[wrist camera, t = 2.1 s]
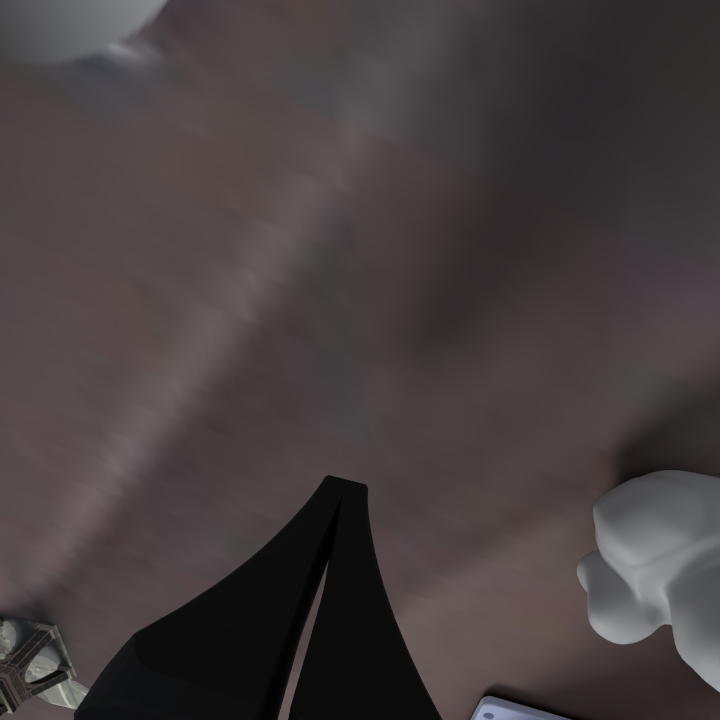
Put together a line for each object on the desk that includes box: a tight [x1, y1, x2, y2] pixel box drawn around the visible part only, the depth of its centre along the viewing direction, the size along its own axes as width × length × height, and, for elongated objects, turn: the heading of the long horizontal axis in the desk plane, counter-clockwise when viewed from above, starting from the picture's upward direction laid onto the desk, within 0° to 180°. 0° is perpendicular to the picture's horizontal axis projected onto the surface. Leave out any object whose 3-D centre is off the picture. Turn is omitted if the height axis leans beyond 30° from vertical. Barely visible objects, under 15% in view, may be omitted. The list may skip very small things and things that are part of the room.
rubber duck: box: [577, 470, 720, 692], centre depth 11 cm, size 5×7×8 cm
